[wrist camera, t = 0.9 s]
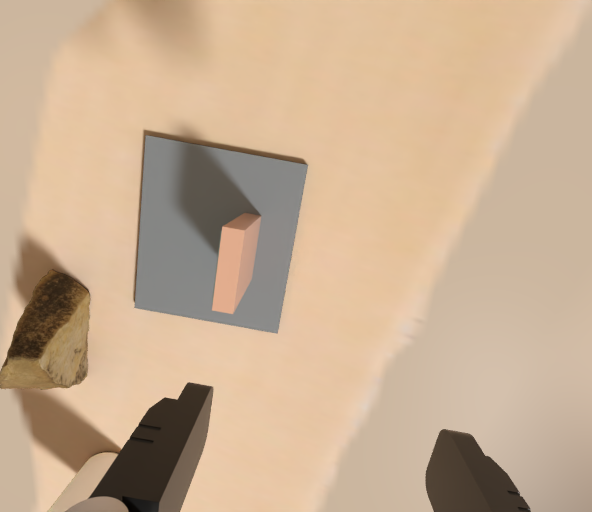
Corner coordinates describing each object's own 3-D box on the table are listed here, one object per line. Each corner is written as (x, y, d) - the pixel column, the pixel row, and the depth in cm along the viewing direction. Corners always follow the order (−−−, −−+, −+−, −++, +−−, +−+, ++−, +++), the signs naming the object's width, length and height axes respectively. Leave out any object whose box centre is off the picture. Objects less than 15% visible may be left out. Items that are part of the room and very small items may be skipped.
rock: (94, 411, 33) (132, 345, 30) (-23, 446, 26) (8, 364, 23) (66, 329, 38) (95, 264, 35) (-38, 340, 31) (-15, 261, 28)
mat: (148, 135, 29) (145, 135, 28) (307, 165, 29) (307, 164, 28) (137, 305, 33) (134, 307, 32) (277, 330, 33) (277, 333, 32)
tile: (243, 212, 30) (220, 226, 22) (261, 215, 30) (244, 230, 22) (234, 275, 31) (209, 310, 23) (251, 279, 31) (233, 314, 23)
